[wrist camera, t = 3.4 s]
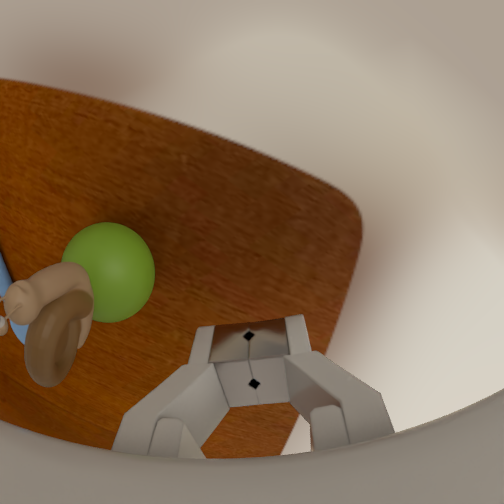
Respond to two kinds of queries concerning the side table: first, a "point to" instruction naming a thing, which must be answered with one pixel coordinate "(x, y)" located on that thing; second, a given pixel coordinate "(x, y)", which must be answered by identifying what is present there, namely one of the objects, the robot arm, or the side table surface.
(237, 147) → the side table surface
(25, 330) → the blue spoon
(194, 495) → the robot arm
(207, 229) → the side table surface
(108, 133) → the side table surface
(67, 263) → the snail figurine
